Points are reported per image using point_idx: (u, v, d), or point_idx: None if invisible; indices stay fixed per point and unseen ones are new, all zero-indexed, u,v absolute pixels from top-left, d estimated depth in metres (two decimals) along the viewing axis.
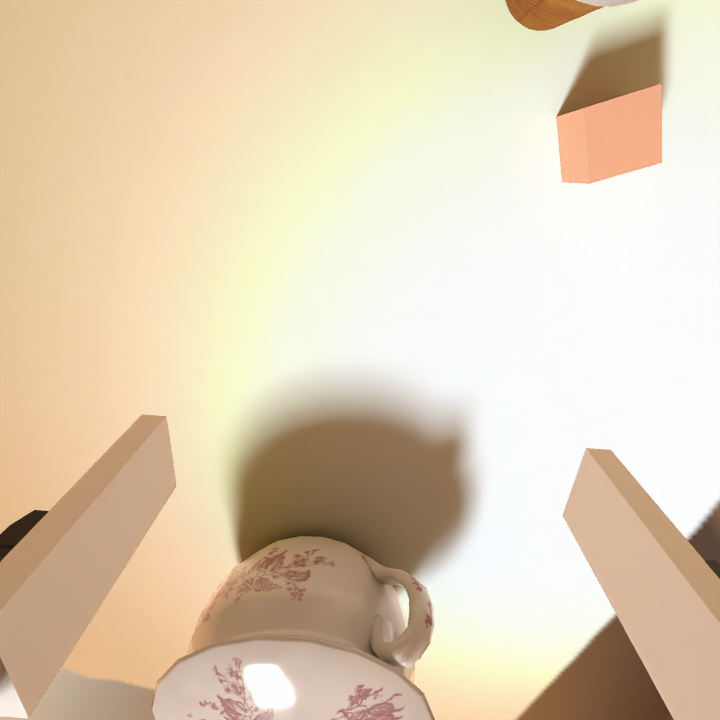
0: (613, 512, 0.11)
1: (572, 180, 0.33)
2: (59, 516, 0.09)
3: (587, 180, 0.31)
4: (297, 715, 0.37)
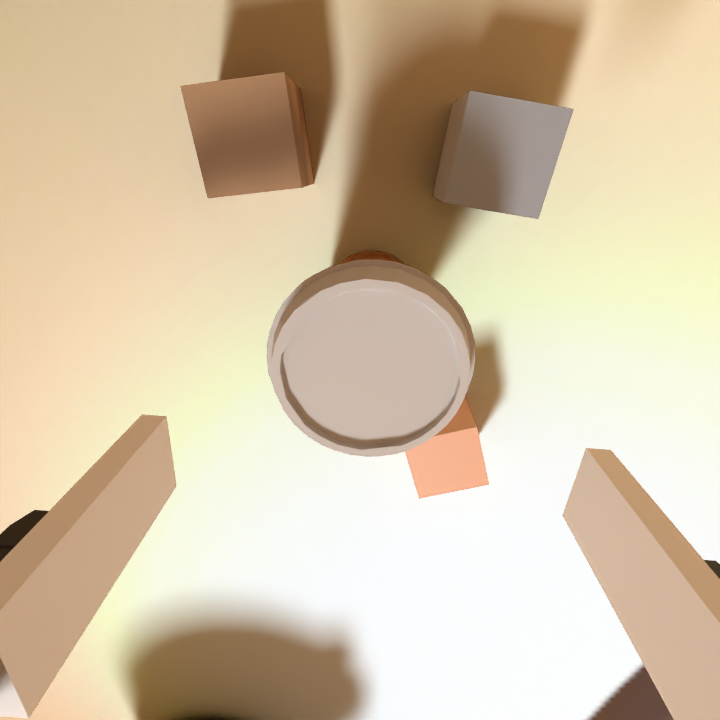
0: (613, 511, 0.11)
1: None
2: (59, 516, 0.09)
3: (418, 493, 0.30)
4: None
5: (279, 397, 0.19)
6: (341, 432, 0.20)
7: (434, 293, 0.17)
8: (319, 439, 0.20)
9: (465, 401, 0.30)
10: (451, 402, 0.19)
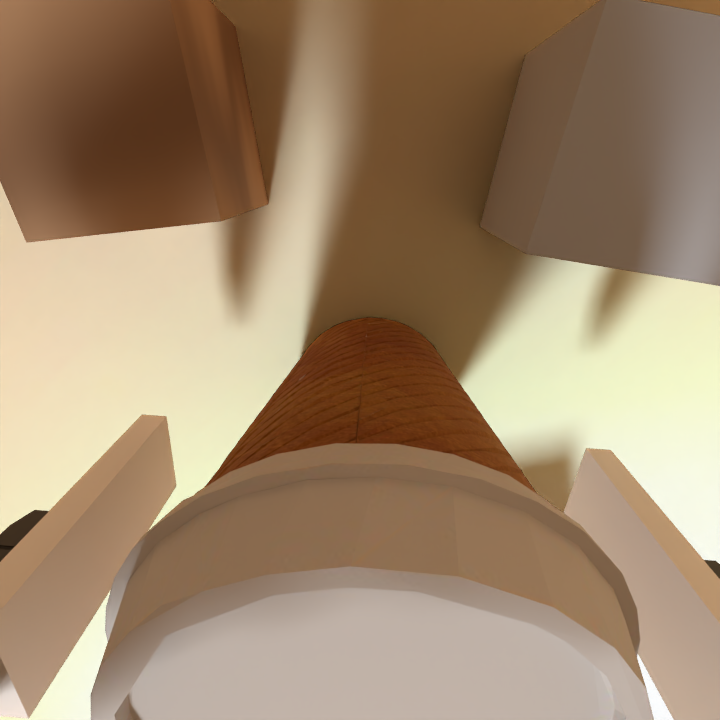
0: (613, 511, 0.11)
1: None
2: (59, 516, 0.09)
3: None
4: None
5: None
6: None
7: (562, 570, 0.06)
8: None
9: None
10: None
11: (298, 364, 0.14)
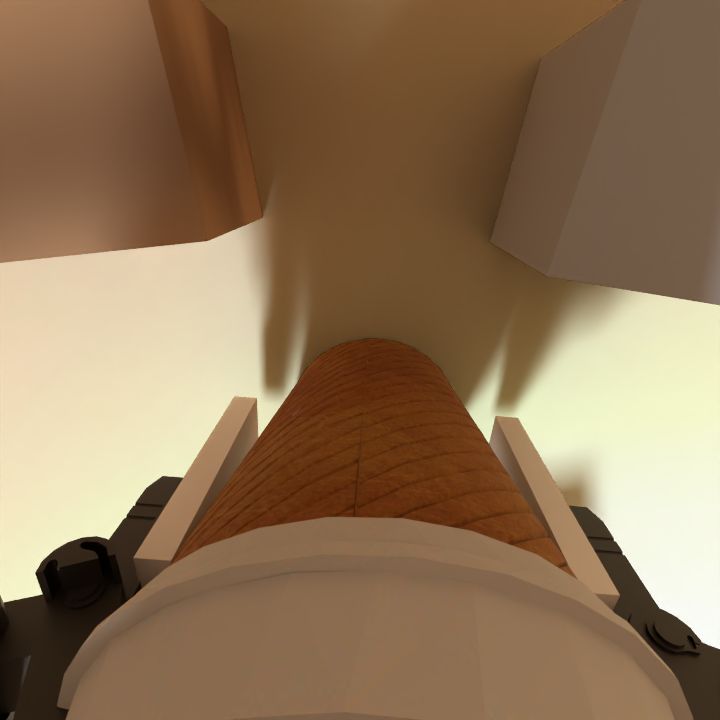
0: (508, 469, 0.13)
1: None
2: (196, 478, 0.10)
3: None
4: None
5: None
6: None
7: (613, 695, 0.04)
8: None
9: None
10: None
11: (294, 392, 0.13)
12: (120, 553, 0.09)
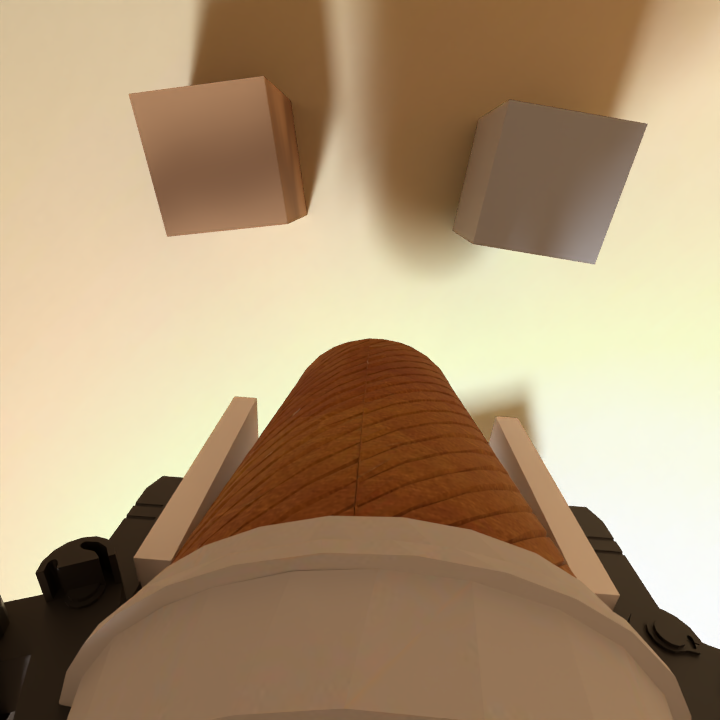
0: (508, 469, 0.13)
1: None
2: (196, 478, 0.10)
3: None
4: None
5: None
6: None
7: (610, 692, 0.04)
8: None
9: None
10: None
11: (294, 392, 0.13)
12: (120, 552, 0.09)
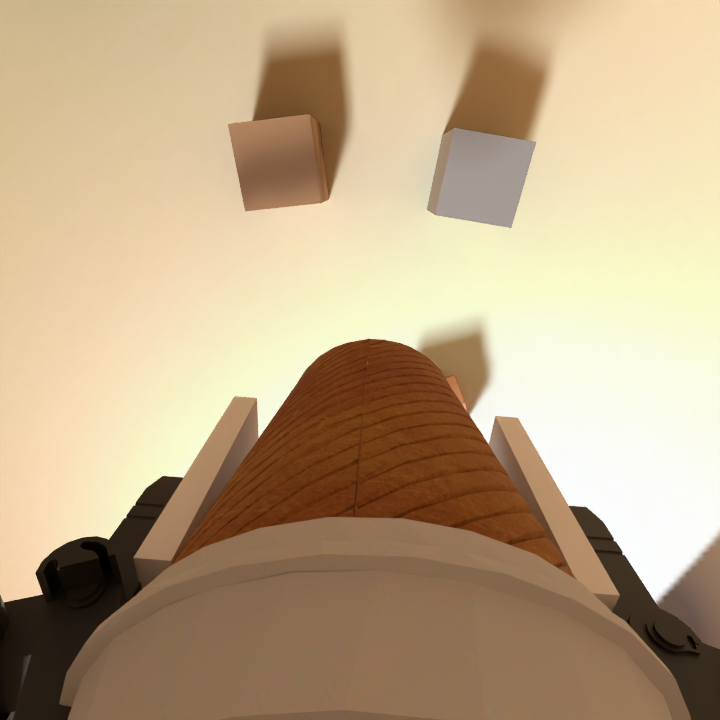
0: (508, 469, 0.13)
1: None
2: (196, 478, 0.10)
3: None
4: None
5: None
6: None
7: (610, 694, 0.04)
8: None
9: (456, 384, 0.35)
10: None
11: (294, 392, 0.13)
12: (120, 552, 0.09)
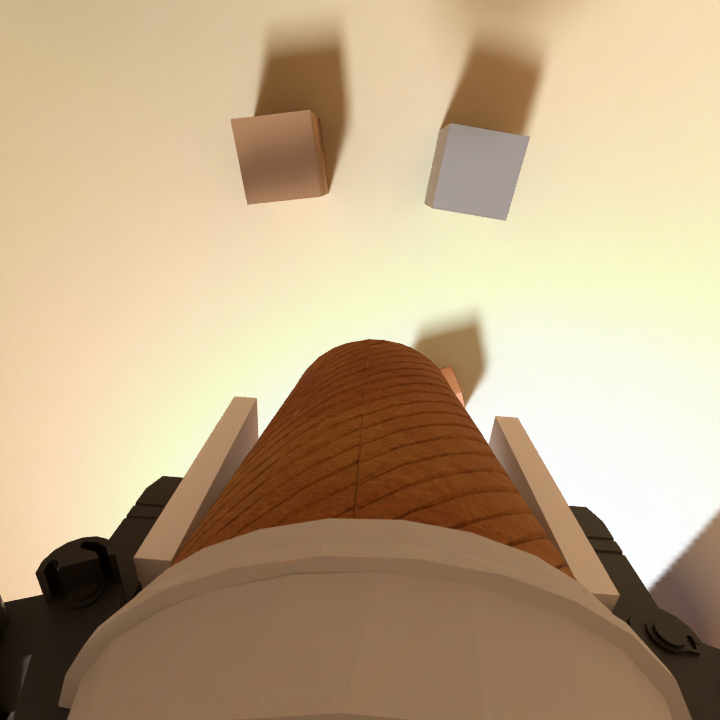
0: (508, 469, 0.13)
1: None
2: (196, 478, 0.10)
3: None
4: None
5: None
6: None
7: (611, 696, 0.04)
8: None
9: (453, 374, 0.36)
10: None
11: (294, 392, 0.13)
12: (120, 553, 0.09)
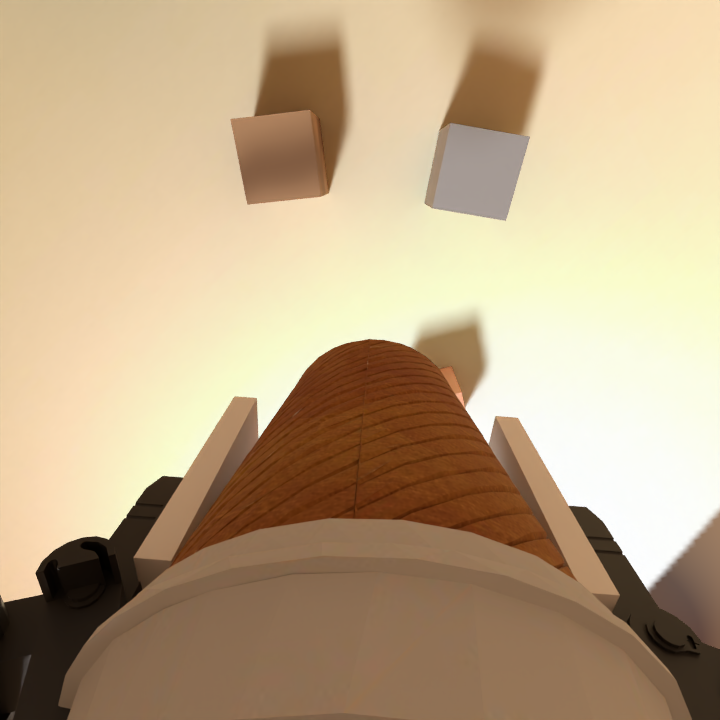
0: (508, 469, 0.13)
1: None
2: (196, 478, 0.10)
3: None
4: None
5: None
6: None
7: (611, 696, 0.04)
8: None
9: (453, 374, 0.36)
10: None
11: (294, 392, 0.13)
12: (120, 553, 0.09)
